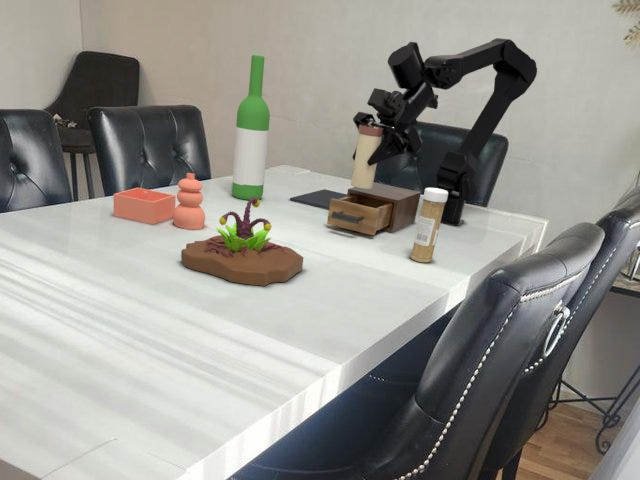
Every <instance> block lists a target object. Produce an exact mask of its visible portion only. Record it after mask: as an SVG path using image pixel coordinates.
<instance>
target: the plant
mask: <svg viewBox="0 0 640 480" xmlns="http://www.w3.org/2000/svg"><path fill="white" fill-rule="evenodd" d="M260 205H261V201H260V199H258V198H256V197H252V198H250V200H248V202H246V206H245V208H244V213H243V219H241V216H240V215H239V214H238V213H237V212H236V211H228V212H227V213H225V214H223V215H221V216H220V218H219V220H218V222H219V224H220V225H221V226H225V229H226V231H227V232H228V233H227V232H226V231H225V230H223V229H221V228H218V227H215V230H216V231H217V233H219V234H220V235H215V236H212V237H209V238H207V239H205V240H195V241H194V242H189V243H186V245H185V248H182V249H181V254H180V255H181V256H180V260H181V261H180V262H181V263H182V264H183V266H184V267H186V268H187V269H190V270H193V271H197V272H201V273H205V274H209V275H212V276H215V277H218V278H221V279H224V280H226V281H228V282H231V283H236V284H243V285H251V286H261V287H266V286H267V285H269V284H273V283H285V282H287V281H288V280H290V279H291V278H292V277H294V276H295V275H296V274H299V273H300V272H301V271H303V266H304V264H303V263H304V256H302V255H301V254H299V253H298V252H296V250H294V249H292V248H290V247H287V246H283V245H279V244H277V243H274V242H271V241H270V240H271V239H272V237H267V235H268V234H269V233H270V231H271V229H272V224H271V222H270V221H269V220H268V219H265V218H262V217H259V218H255V219H254V220H252V221H251V219H250V217H251V215H250V214H251V209H252V206H253V208H259V207H260ZM229 216H232V217H234V220H235V223H233V225H232V227H231V226H229V225H227V222H228V218H229ZM259 223H262V225H263V228H262V229H260V230H258V231H257V232H256V233H255V232H254V227H255V226H256V225H258V224H259Z"/></svg>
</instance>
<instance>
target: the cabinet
mask: <svg viewBox="0 0 640 480" xmlns="http://www.w3.org/2000/svg"><path fill="white" fill-rule="evenodd" d="M346 194H347V196H351V195H354V194H356V195H361V196H365V197H369V198H374V199H378V200H383V201H387V202H391V203H394V208H393V213H392V218H391V223H390V225H389V226H387V227H384V228H382V229H380V230H379V231H383V232H386V233H391V234H392V233H394V232H398V231H399V230H402V229H403V228H405V227H408V226H410V225H413V224H414V223H415V221H416V218H417V212H418V208H419V203H420V200H421V194H422V192H421V191H416V190H411V189H407V188H403V187H398V186H393V185H389V184H384V183H380V182H377V181H374V183H373V188H371V189H363V188H357V187H354V186H352V187H350V188H348V189H347V192H346Z"/></svg>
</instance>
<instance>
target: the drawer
mask: <svg viewBox="0 0 640 480" xmlns="http://www.w3.org/2000/svg"><path fill="white" fill-rule="evenodd" d="M393 208H394V203H391V202H387V201H383V200H378V199H374V198H369V197H365V196H361V195H356V194H354V195H351V196H347V197H344V198H340V199H334V198H332V199H331V200H330V207H329V210H328V214H327V222H326V224H327V225H330V226H334V227H338V228H341V229H346V230H349V231H354V232H358V233H361V234H364V235H365V234H366V235H368V236H375V235H376V232H377V231H381V230H380V229H382V228H384V227H387V226H389V225H390V223H391V218H392V213H393Z"/></svg>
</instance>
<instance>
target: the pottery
mask: <svg viewBox="0 0 640 480" xmlns="http://www.w3.org/2000/svg"><path fill="white" fill-rule="evenodd" d="M195 176H196V173H192V172H187V173H186V177H185V178H182V179H180V180H179V181H178V183H177V186H178V188H179V190H178V191H177V193H176V195H175V194H170V193H166V192H161V191H156V190H152V189H147V188H142V187H134V188H130V189H126V190H123V191H120V192H116V193H113V195H112V198H113V199H112V200H113V216H114V217H117V218H122V219H126V220H131V221H135V222H140V223H144V224H149V225H156V224H159V223H162V222H163V221H166V220H170V219H173V223H174V224H173V225H174V226H175V227H177V228H180V229H185V230H200V229H201V230H202V229H203V228H204V225H205V222H206V214H205V211H204V209H203V208H202V207H201V206H200V205H201V204H202V202H203V201H204V195H203V194H202V192H201V191H202V190H203V184H202V183H201V181H200V180H198V179H196V177H195ZM176 199H177V202H178V203H179V204H177V206H176Z"/></svg>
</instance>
